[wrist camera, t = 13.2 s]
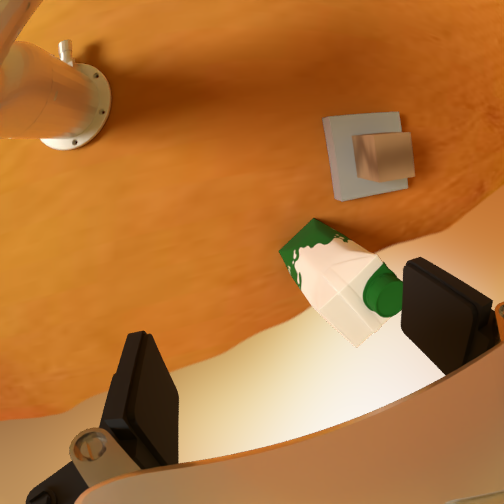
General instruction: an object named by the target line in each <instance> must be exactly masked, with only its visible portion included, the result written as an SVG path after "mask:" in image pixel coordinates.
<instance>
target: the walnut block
mask: <svg viewBox="0 0 504 504" xmlns="http://www.w3.org/2000/svg"><path fill="white" fill-rule="evenodd" d="M352 142H353V149H354V156H355V163H356V171H357V178H362V179H366V180H371V181H375V182H379V183H380V182H386V181H392V180H398V179H404V178H410V177H415V169H414V158H413V149H412V141H411V133H410V132H385V133H373V134H363V135H354V136H352Z"/></svg>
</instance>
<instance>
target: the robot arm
mask: <svg viewBox="0 0 504 504" xmlns="http://www.w3.org/2000/svg"><path fill="white" fill-rule="evenodd" d="M42 1H43V0H0V139H40V140H41V141H42V142H43V143H44V144H45V145H47V146H48V147H50V148H53V149H56V150H72V149H76V148H79V147H81V146H83V145H85V144H87V143H88V142H89V141H91V140H92V139H93V138H94V137H95V136H96V135H97V134H98V133H99V132H100V130H101V129H102V127H103V126H104V124H105V122H106V120H107V118H108V116H109V112H110V108H111V101H112V96H111V89H110V85H109V82H108V81H107V79H106V77H105V76H104V75H103V73H102V72H101V71H99V70H98V69H97V68H95V67H93V66H91V65H88V64H84V63H75V58H72V43H71V40H64V41H61V42H60V43H59V44H58V47H59V56H60V59H58V58H57V57H55V56H54V55H52V54H50V53H48V52H46V51H45V50H43V49H41V48H39V47H38V46H36V45H34V44H31V43H28V42H22V41H15V40H16V38H17V37H18V35H19V33H20V32H21V30H22V29H23V27H24V26H25V24H26V23H27V22H28V20H29V19H30V17H31V16H32V14H33V13H34V12H35V10H36V9H37V8H38V6H39V5H40V4H41V2H42ZM97 76H99V77H98V78H97ZM103 111H105V113H104V114H102V112H103ZM76 141H78V143H77V144H76ZM492 303H493V300H491V299H490V298H488V297H487V296H485V295H483V294H482V293H480V292H479V291H477V290H475V289H474V288H472V287H471V286H469V285H468V284H466V283H464V282H463V281H461V280H459V279H458V278H456V277H454V276H453V275H451V274H449V273H448V272H446V271H444V270H443V269H441V268H439V267H438V266H436V265H434V264H432V263H431V262H429V261H427V260H425V259H424V258H422V257H419V258H415V259H412V260H409V261H407V263H406V266H404V269H403V294H402V314H401V329H402V331H403V332H404V334H405V335H406V336H407V337H408V338H409V339H410V340H412V342H413V343H414V344H415V345H416V346H417V347H418V348H419V349H420V350H421V351H422V352H423V353H424V354H425V355H426V356H427V357H428V358H429V359H430V360H431V361H432V362H433V363H434V364H435V365H436V366H437V367H438V368H439V369H440V370H441V371H442V372H443V373H444V374H445V375H446V376H444V377H443V378H441V379H439V380H437V381H435V382H433V383H431V384H429V385H428V386H426V387H424V388H422V389H420V390H418V391H416V392H414V393H412V394H410V395H408V396H405V397H403V398H401V399H399V400H397V401H395V402H393V403H390V404H388V405H386V406H384V407H381V408H379V409H377V410H374V411H372V412H369V413H367V414H365V415H362V416H360V417H357V418H355V419H352V420H350V421H347V422H344V423H341V424H338V425H336V426H333V427H330V428H327V429H324V430H321V431H318V432H315V433H312V434H309V435H306V436H302V437H299V438H296V439H292V440H289V441H285V442H282V443H278V444H274V445H271V446H266V447H262V448H258V449H254V450H249V451H245V452H240V453H236V454H231V455H226V456H222V457H217V458H211V459H205V460H199V461H192V462H186V463H180V464H178V415H179V411H178V410H179V396H178V391H177V389H176V387H175V385H174V383H173V380H172V378H171V376H170V374H169V372H168V370H167V368H166V366H165V363H164V361H163V359H162V357H161V354H160V352H159V350H158V348H157V345H156V343H155V341H154V338H153V336H152V335H151V334H146V332H145V331H139V332H134V333H130V334H128V336H127V339H126V342H125V345H124V348H123V352H122V355H121V358H120V362H119V365H118V368H117V372H116V373H115V374H114V375H113V378H112V381H111V384H110V388H109V392H108V395H107V399H106V403H105V406H104V410H103V414H102V418H101V422H100V426H99V428H90V429H86V430H84V431H82V432H80V433H79V434H78V435H77V436H76V437H75V438H74V439H73V441H72V442H71V445H70V447H69V454H70V457H71V459H72V461H71V462H69V463H68V464H67V465H65V466H64V467H63V468H61V469H60V470H58V471H57V472H56V473H54V474H53V475H52V476H50V477H49V478H47V479H46V480H45V481H43V482H42V483H40V484H39V485H37V486H36V487H35V488H33V489H32V490H31V491H30V493H29V495H28V496H27V499H26V504H504V302H502V303H499V304H498V305H497V306H496V308H495V311H493V310H492V309H491V307H492Z"/></svg>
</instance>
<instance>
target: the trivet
mask: <svg viewBox="0 0 504 504" xmlns="http://www.w3.org/2000/svg"><path fill="white" fill-rule="evenodd" d="M322 121H323V126H324V132H325V137H326V143H327V149H328V155H329V162H330V168H331V175H332V182H333V189H334V197H335V199H337V200H340V201H346V200H351V199H356V198H361V197H366V196H371V195H376V194H381V193H386V192H391V191H396V190H401V189H406V188H408V181H407V178H404V179H398V180H392V181H386V182H380V183H379V182H375V181H371V180H366V179H362V178H357V171H356V163H355V156H354V149H353V142H352V136H354V135H363V134H373V133H385V132H402V128H401V122H400V115H399V112H381V113H365V114H351V115H340V116H330V117H325V118H322Z"/></svg>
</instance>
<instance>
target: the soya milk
mask: <svg viewBox="0 0 504 504" xmlns="http://www.w3.org/2000/svg"><path fill="white" fill-rule="evenodd" d="M279 253H280V255H281V257H282V258H283V260H284V262H285V264H286V266H287V269H288V271H289V273H290V275H291V276H292V278H293V279H294V281H295V282H296V284H297V285H298V287H299V288H300V290H301V291H302V292H303V294H304V295H305V297H306V298H307V300H308V301H309V302H310V304H311V305H312V307H313V308H314V309H315V310H316V311H317V312H318V313H319V314H320V315H321V316H322V317H323V318H324V319H325V320H326V321H327V322H328V323H329V324H330V325H331V326H333V328H335V329H336V330H337V331H338V332H339V333H340V334H341V335H343V336H344V337H345V338H346V339H347V340H348V341H349V342H350V343H351V344H353V345H354V346H355V347H356V348H357V347H358V346H359V345H360V344H361V343H363V342H364V341H365V340H366V339H367V338H368V337H369V336H370V335H371V334H373V333H375V332H377V330H379V329H380V328H381V327H382V325H383V324H384V323H385V322H386V321H387V320H388V319H389V318H390V317H392V316H394V315H396V314H397V313H398V312H400V311H401V310H402V294H403V282H402V281H401V280H400V279H398V278H397V276H396V275H395V274H394V273H393V272H392V271H391V270H390V269H389V268H388V267H387V266H386V264H385V263H384V262H382V260H381V259H380V257H379V256H378V255H377V254H374V253H371V252H369V251H367V250H366V249H364V248H363V247H361V246H360V245H358V244H357V243H355V242H354V241H352V240H351V239H349V238H347V237H346V236H344V235H343V234H341V233H340V232H338V231H336V230H335V229H333V228H331V227H329V226H327V225H326V224H324V223H322V222H320V221H318V220H316V219H315V218H313V219H312V220H311V221H310V222H309V223H308V224H307V225H306V226H305V227H304V228H303V229H302V230H300V231H299V232H298V233H297V234H296V235H295V236H294V237H293V238H292V239H291V240H290V241H289V242H288V243H287V244H286V245H285V246H284V247H283V248H281V249H280V250H279Z"/></svg>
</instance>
